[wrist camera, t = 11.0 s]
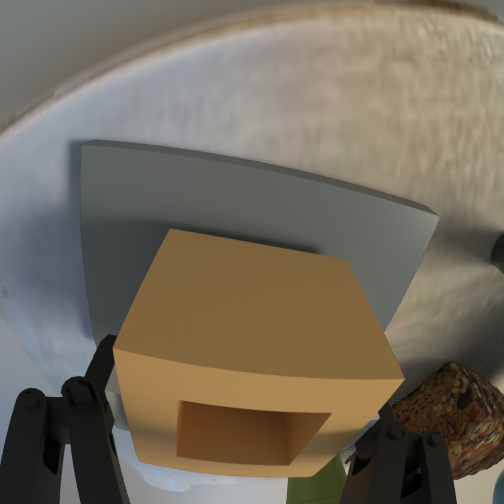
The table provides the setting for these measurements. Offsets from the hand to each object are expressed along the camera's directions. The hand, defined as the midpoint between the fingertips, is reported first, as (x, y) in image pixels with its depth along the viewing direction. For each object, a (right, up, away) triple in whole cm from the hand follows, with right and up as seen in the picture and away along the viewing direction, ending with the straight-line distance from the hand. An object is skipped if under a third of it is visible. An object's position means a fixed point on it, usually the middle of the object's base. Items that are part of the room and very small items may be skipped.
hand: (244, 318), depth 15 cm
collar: (0, 0, 0) cm, 0 cm away
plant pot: (+8, -21, +15) cm, 27 cm away
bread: (+23, -14, +11) cm, 29 cm away
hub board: (0, +1, +2) cm, 3 cm away
